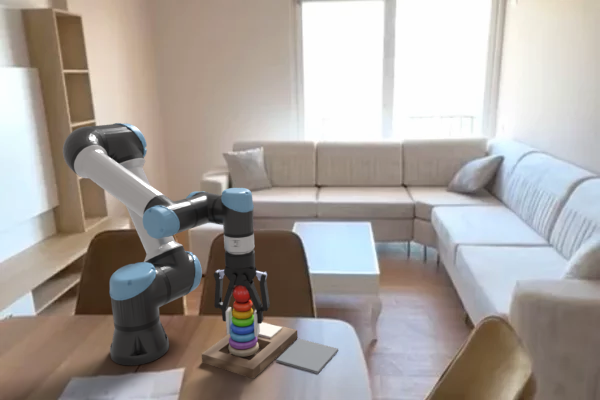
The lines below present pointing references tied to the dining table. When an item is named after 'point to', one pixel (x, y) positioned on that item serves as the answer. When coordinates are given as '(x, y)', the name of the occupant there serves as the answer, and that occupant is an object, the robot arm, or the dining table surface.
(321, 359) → the gray square plate
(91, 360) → the dining table surface
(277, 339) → the walnut puzzle board
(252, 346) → the stacking toy
